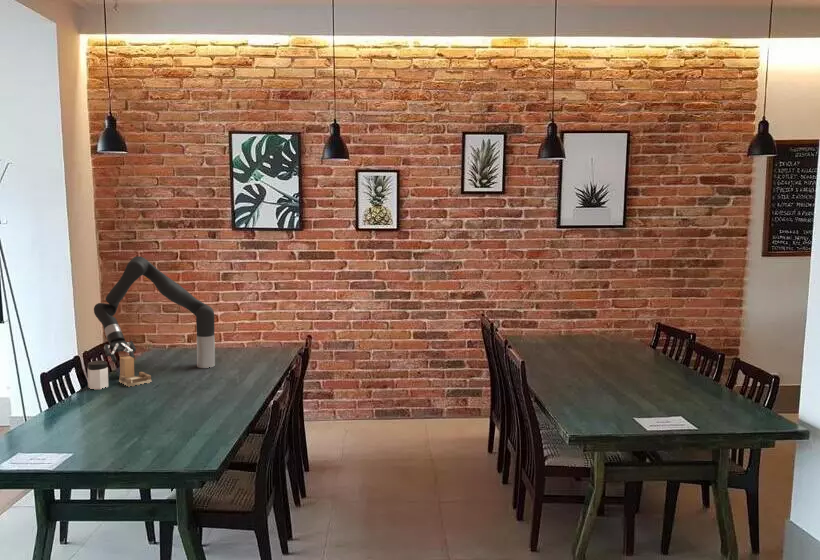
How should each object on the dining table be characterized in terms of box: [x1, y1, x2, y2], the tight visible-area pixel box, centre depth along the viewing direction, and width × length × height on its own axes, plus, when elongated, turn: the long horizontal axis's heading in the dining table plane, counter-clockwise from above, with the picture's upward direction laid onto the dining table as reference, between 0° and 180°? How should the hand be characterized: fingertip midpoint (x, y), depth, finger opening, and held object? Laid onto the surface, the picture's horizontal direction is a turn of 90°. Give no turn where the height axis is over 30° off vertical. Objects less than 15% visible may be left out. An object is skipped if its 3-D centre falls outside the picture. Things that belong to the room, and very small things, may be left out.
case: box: [119, 355, 135, 378], centre depth 295 cm, size 6×4×10 cm
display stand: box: [118, 371, 153, 388], centre depth 286 cm, size 11×11×4 cm
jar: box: [87, 360, 109, 390], centre depth 277 cm, size 9×8×12 cm
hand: (124, 360), depth 297 cm, fingers open, 8 cm apart
